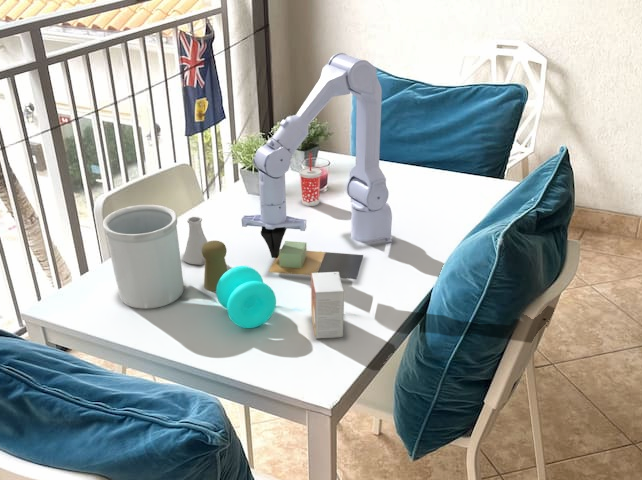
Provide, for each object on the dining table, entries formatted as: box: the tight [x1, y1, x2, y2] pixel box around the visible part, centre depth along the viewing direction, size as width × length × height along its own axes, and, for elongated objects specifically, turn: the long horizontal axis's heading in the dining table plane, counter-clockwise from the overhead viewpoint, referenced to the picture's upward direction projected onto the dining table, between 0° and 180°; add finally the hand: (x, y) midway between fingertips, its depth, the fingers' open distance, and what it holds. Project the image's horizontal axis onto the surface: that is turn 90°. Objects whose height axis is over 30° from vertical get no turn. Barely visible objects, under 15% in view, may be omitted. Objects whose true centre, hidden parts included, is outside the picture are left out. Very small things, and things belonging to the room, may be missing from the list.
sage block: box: [279, 240, 308, 268], centre depth 160 cm, size 5×6×4 cm
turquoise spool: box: [215, 265, 277, 329], centre depth 140 cm, size 10×10×10 cm
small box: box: [310, 272, 345, 340], centre depth 136 cm, size 8×6×10 cm
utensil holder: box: [102, 204, 185, 310], centre depth 147 cm, size 15×15×18 cm
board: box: [268, 248, 364, 280], centre depth 160 cm, size 20×12×1 cm, turn 79°
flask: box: [182, 216, 208, 265], centre depth 162 cm, size 7×7×10 cm
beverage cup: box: [298, 152, 323, 207], centre depth 189 cm, size 6×6×14 cm
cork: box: [202, 240, 229, 293], centre depth 150 cm, size 6×6×11 cm
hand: (275, 256), depth 161 cm, fingers closed
